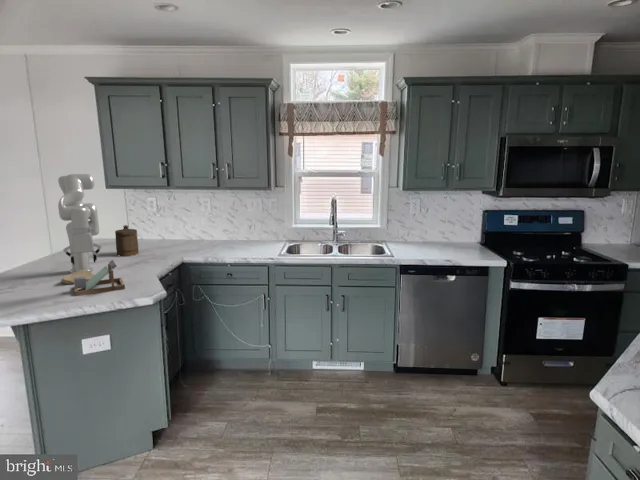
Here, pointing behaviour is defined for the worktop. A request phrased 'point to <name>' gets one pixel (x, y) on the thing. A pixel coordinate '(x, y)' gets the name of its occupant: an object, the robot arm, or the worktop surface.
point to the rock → (70, 278)
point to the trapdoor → (99, 275)
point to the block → (80, 282)
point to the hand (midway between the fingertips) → (84, 262)
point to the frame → (110, 280)
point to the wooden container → (126, 241)
